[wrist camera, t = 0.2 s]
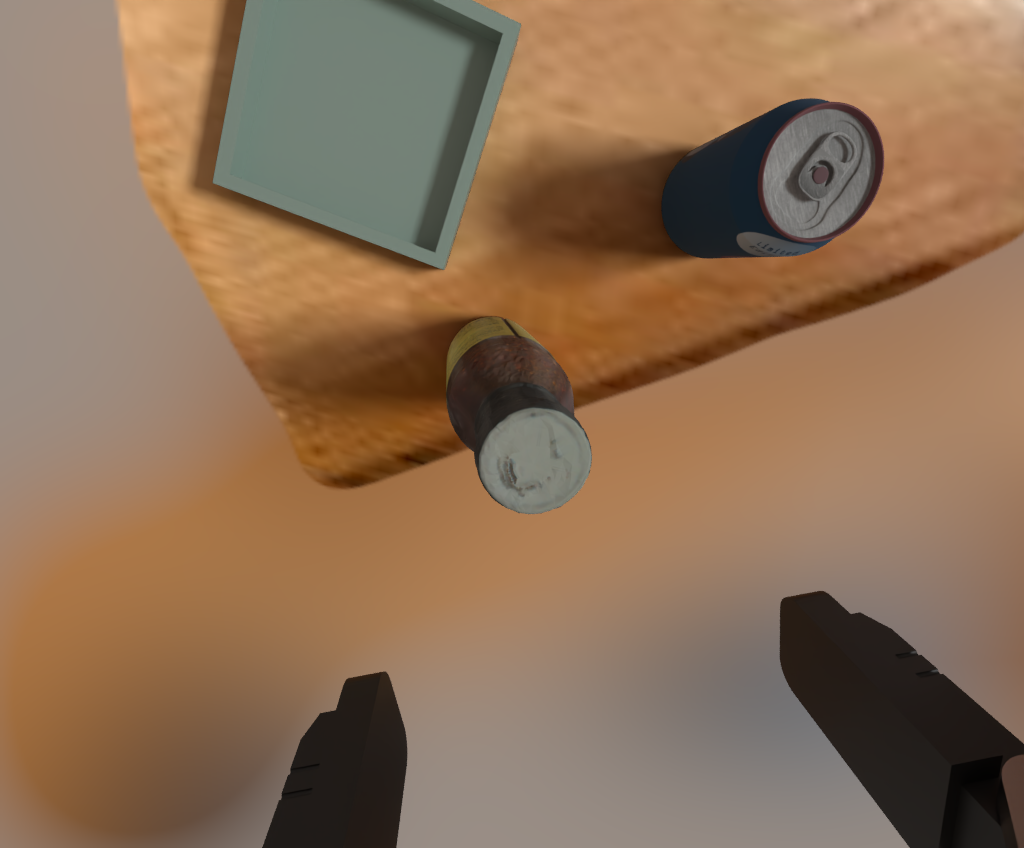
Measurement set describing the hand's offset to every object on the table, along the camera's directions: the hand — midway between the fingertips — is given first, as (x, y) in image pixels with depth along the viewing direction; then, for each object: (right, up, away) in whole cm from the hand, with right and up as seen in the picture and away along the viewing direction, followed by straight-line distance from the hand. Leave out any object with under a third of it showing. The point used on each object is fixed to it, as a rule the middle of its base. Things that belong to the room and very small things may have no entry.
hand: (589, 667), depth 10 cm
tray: (-10, +24, +21) cm, 33 cm away
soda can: (+11, +20, +24) cm, 33 cm away
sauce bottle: (-3, +10, +26) cm, 28 cm away
